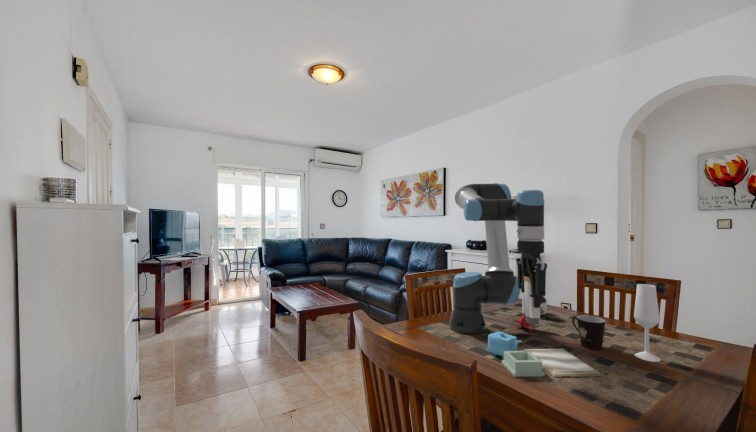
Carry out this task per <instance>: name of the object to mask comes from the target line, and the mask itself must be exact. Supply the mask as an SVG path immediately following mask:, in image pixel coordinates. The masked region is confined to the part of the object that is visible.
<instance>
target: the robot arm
mask: <svg viewBox="0 0 756 432" xmlns="http://www.w3.org/2000/svg"><path fill="white" fill-rule="evenodd" d="M544 195H545V194H544V192H543V191H542V190H539V189H527V190H525V189H524V190H520V191H518V192H517V196H516V198H512V194H511V190H510V188H509V186H508V185H507V184H505V183H497V182H494V183H469V184H466V185H463V186H461V187H460V188H459V189H458V190H457V191H456V193H455V194H454V201H455V203H456V205H457V207H459V208H460V209H463V215H464V216H463V217H464V220H466V221H469V222H470V221H471V222H478V221H479V222H481V221H482V222H483V221H484V225H485V239H486V240H485V241H486V253H487V255H486V256H487V269H486V270H485V271H484V273H485V274H484V275H483V274H482V273H481V272H478V271H468V272H467V271H466V272H460V273H457V274H455V276H454V277H453V284H452V288H453V293H452V294H453V295H452V296H453V297H452V298H453V303H452V304H453V309H452V311H451V316H450V318H449V328H450V329H451V330H453V331H455V332H458V333H463V334H471V335H472V334H473V335H474V334H475V335H476V334H482V333H485V332H486V331H487V323H486V320H485V317H484V313H483V310H482V307H483V304H484V305H504V306H505V305H514V304H516V303H517V302H518V300H519V297H520V295H522V296H521V300H522V301H521V302H522V304H521V307H522V308H521V310H522V315H524V314H525V290H524V276H530V283H531V292H532V295H530V318H539V319H541V317H540V297H541V296H544V297H546V277H547V275H546V274H547V268H548V263H546V262H543V261H542V258H541V255H542V254H544V253H545V242H544V241H543V240H544V239H545V199H544V198H545V197H544ZM510 221H511V222H513V221H514V222H516V223H517V224H516V225H517V230H516V232H517V239H519V240H517V243H516V244H517V245H516V246H517V247H516V248H517V249H516V250H517V252H518V253H520V254H521V255H520V257H519V258H517V257H516V259H515V260H516V266H517V276H516V275H515V272H514V270H513V269H511V267H510V261H509V260H510V259H509V249H508V248H509V247H508V239H507V238H508V237H507V227H506V222H510ZM520 293H521V294H520Z"/></svg>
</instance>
